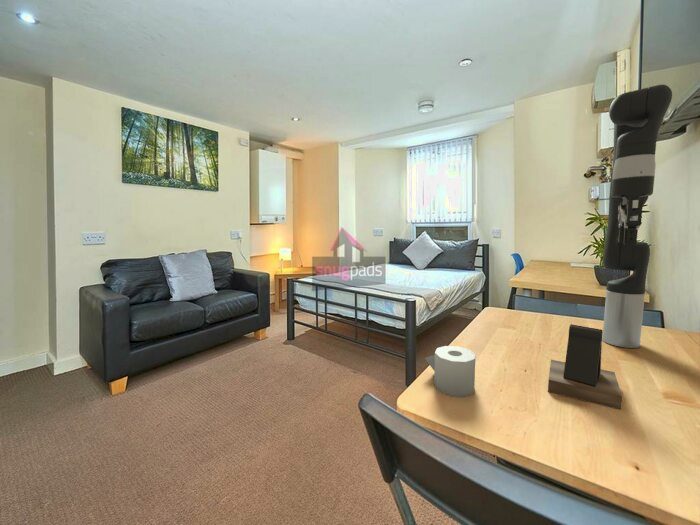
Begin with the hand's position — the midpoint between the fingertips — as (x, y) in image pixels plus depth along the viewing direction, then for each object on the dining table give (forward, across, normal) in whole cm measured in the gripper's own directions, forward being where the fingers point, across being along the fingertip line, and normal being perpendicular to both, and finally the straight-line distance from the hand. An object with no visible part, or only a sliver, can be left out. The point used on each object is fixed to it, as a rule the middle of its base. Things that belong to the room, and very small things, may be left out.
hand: (626, 243), depth 75 cm
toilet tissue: (+34, -28, +34) cm, 56 cm away
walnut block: (+34, -13, +8) cm, 37 cm away
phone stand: (+31, -13, +8) cm, 35 cm away
